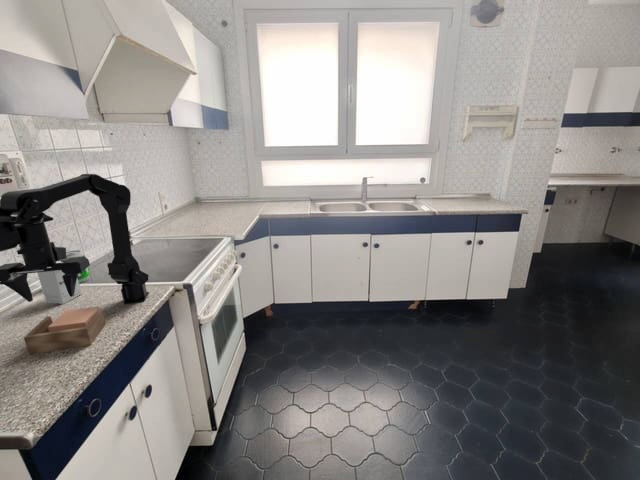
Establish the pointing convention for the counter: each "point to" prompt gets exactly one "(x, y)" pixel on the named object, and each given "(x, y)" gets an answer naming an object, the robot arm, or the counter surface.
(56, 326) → the terracotta block
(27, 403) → the counter surface
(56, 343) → the walnut stall
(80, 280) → the soda can
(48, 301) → the supplement box
